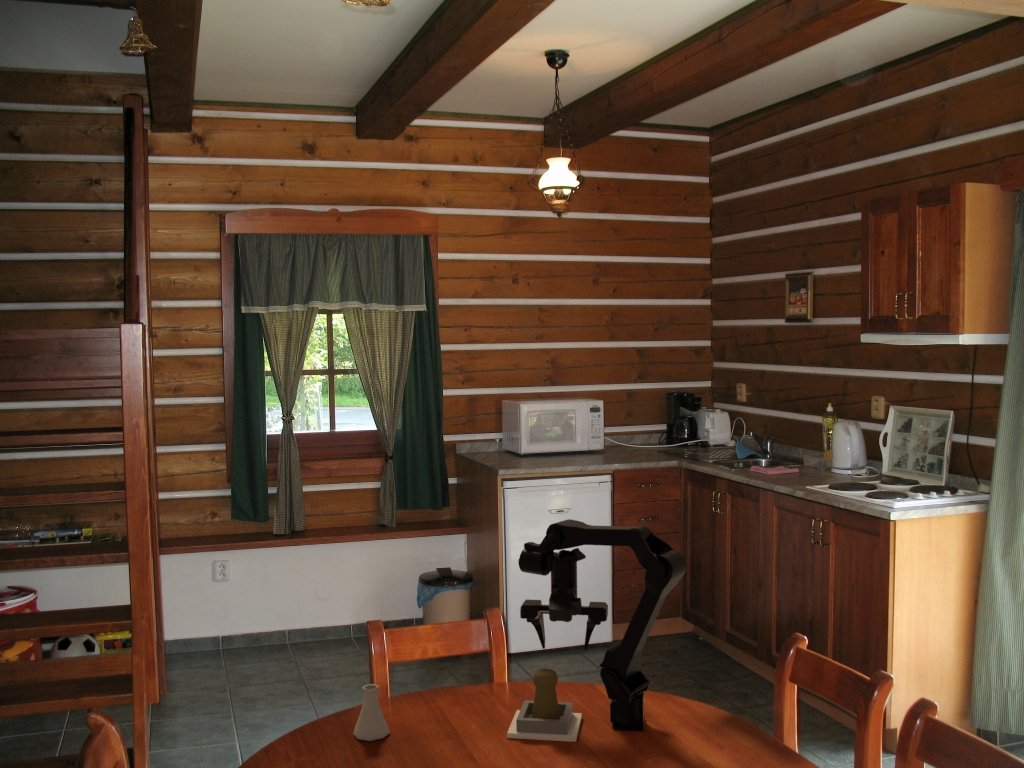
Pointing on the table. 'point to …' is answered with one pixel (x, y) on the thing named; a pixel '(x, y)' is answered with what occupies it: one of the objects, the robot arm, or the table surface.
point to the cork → (545, 695)
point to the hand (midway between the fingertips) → (564, 649)
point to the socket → (545, 724)
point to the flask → (371, 717)
